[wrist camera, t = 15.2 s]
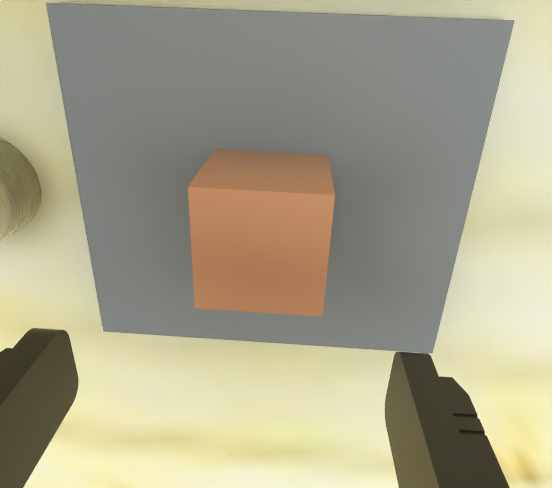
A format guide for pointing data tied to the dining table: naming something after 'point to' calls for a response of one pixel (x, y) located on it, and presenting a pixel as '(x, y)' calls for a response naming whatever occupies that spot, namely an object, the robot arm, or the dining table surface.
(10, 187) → the grey metal cylinder
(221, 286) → the terracotta block
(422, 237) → the slate board
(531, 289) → the dining table surface
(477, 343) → the dining table surface
